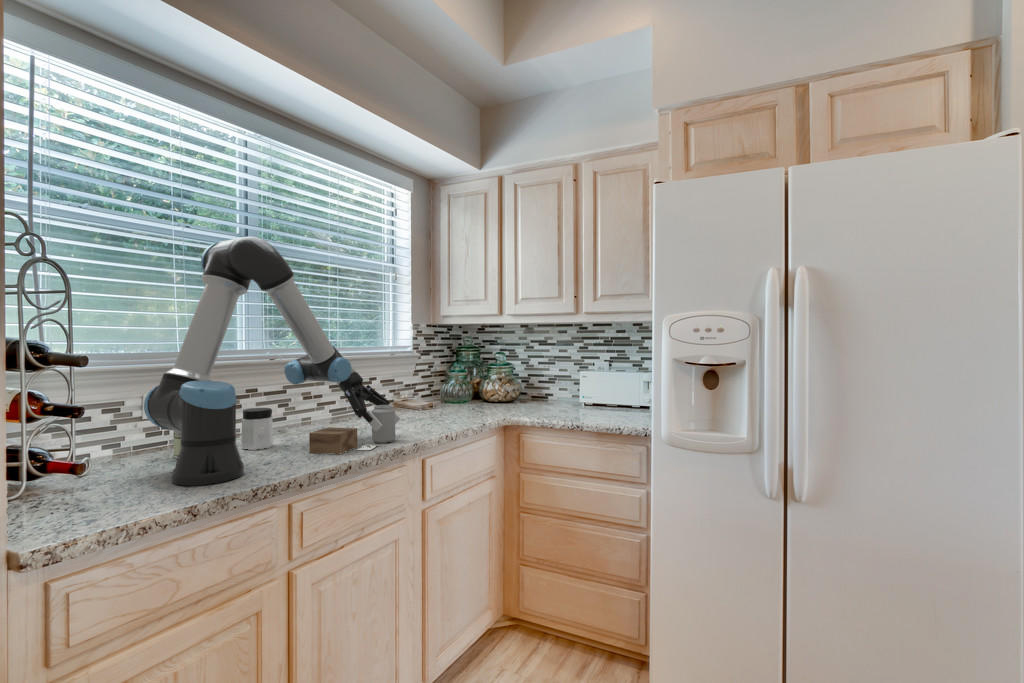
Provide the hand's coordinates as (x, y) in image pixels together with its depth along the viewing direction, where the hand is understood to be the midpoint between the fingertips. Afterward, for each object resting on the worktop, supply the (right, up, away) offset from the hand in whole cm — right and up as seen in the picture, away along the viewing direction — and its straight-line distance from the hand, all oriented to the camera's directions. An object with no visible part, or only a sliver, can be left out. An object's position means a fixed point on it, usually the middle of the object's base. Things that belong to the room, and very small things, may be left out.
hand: (389, 424), depth 168 cm
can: (-2, -6, 0) cm, 6 cm away
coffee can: (-53, -6, -18) cm, 56 cm away
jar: (-39, -6, -8) cm, 41 cm away
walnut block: (-14, -6, -13) cm, 19 cm away
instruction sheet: (-4, -6, -10) cm, 12 cm away
